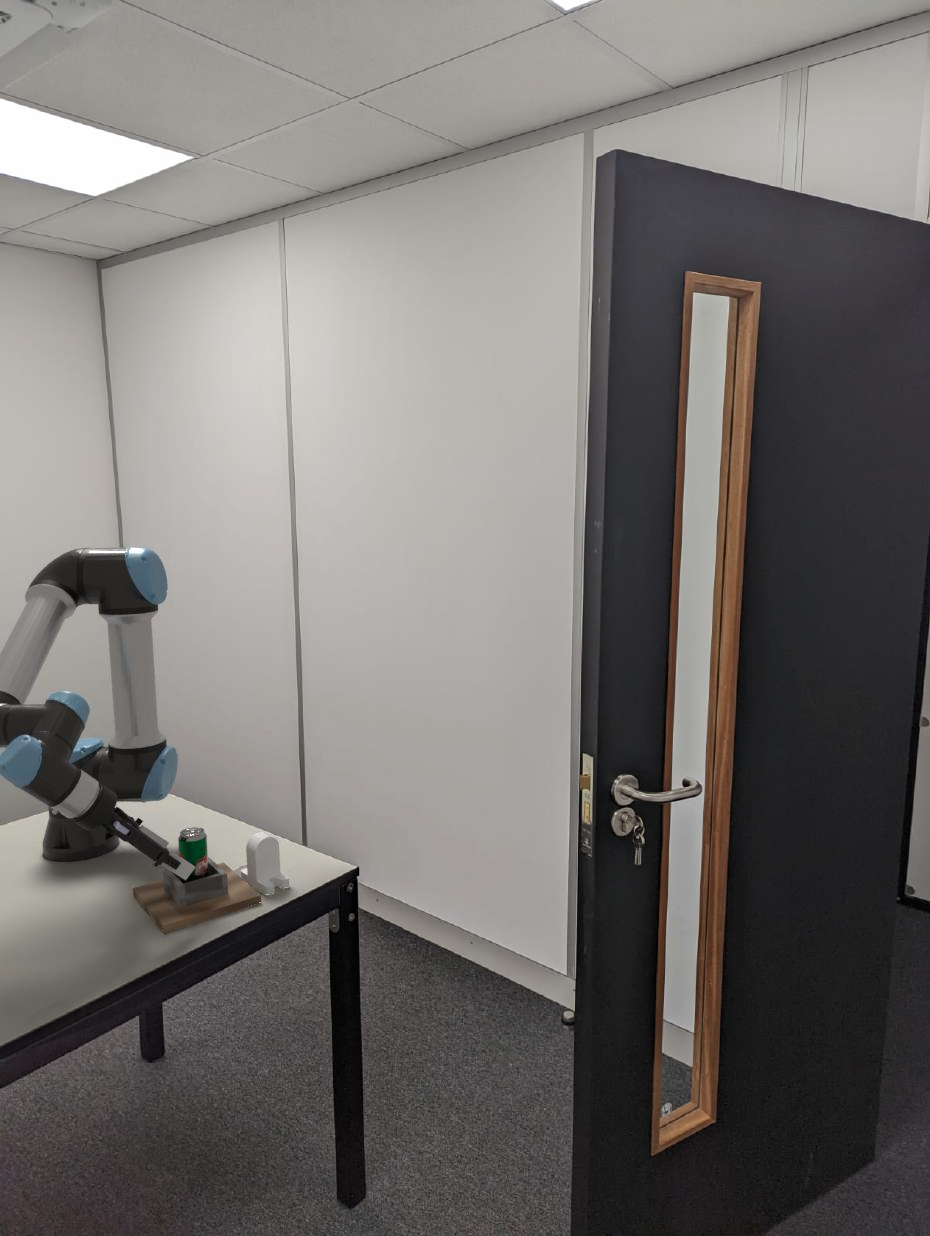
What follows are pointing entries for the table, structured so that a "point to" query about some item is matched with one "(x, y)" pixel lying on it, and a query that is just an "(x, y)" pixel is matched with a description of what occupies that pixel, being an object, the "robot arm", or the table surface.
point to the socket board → (195, 897)
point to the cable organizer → (263, 864)
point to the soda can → (194, 852)
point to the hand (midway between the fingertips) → (176, 860)
